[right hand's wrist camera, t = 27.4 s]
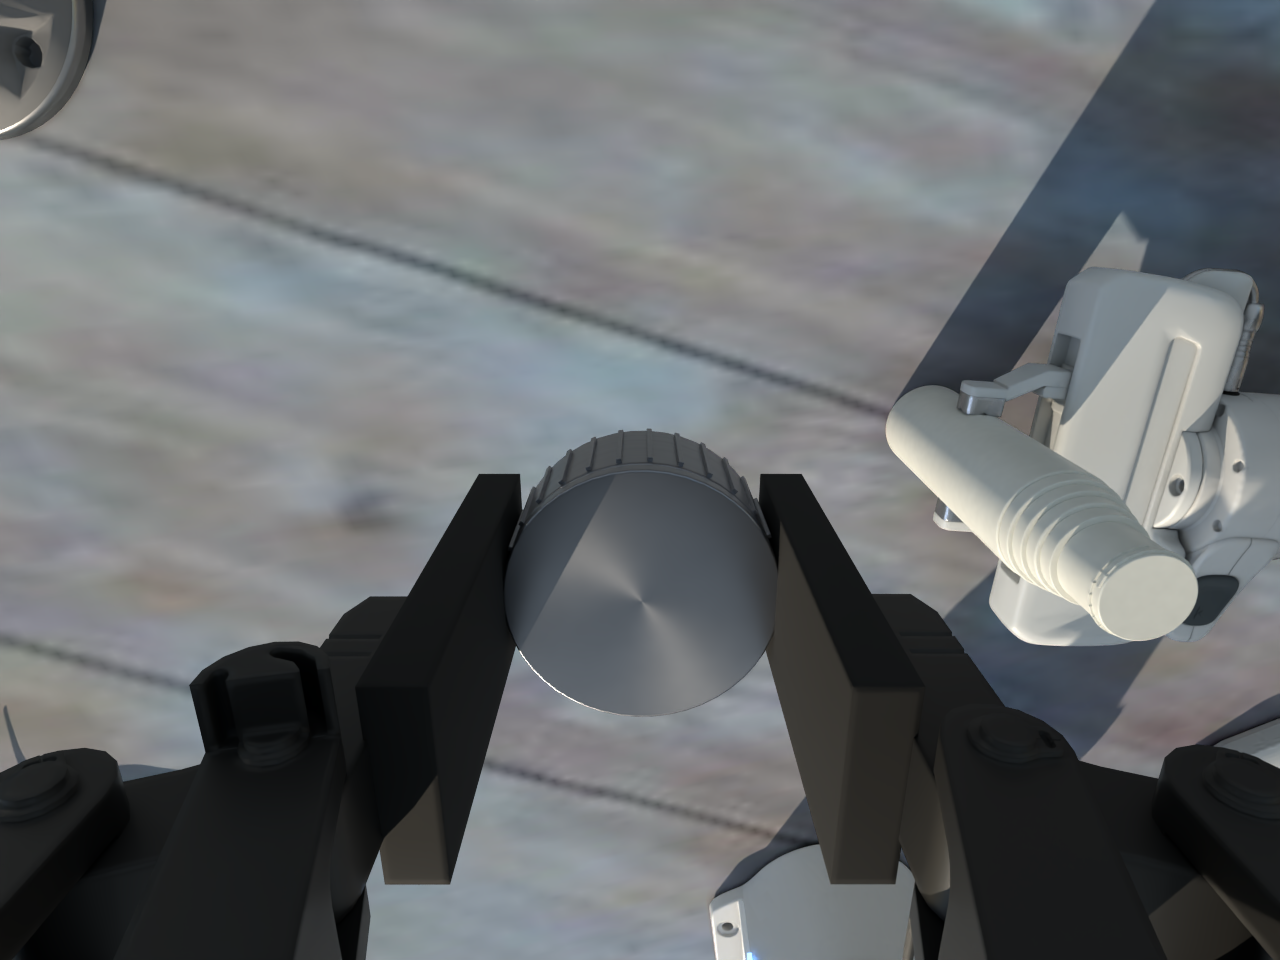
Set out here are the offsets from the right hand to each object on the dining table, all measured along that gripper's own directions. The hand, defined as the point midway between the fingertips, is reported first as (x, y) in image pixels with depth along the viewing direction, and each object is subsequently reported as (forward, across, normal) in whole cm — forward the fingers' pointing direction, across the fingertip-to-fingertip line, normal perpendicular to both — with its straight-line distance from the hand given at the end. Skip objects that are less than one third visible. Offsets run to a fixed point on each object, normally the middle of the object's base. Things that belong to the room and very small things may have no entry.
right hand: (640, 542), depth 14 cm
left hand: (+25, +16, -7) cm, 31 cm away
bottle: (+32, +17, -7) cm, 37 cm away
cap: (-2, 0, 0) cm, 2 cm away
